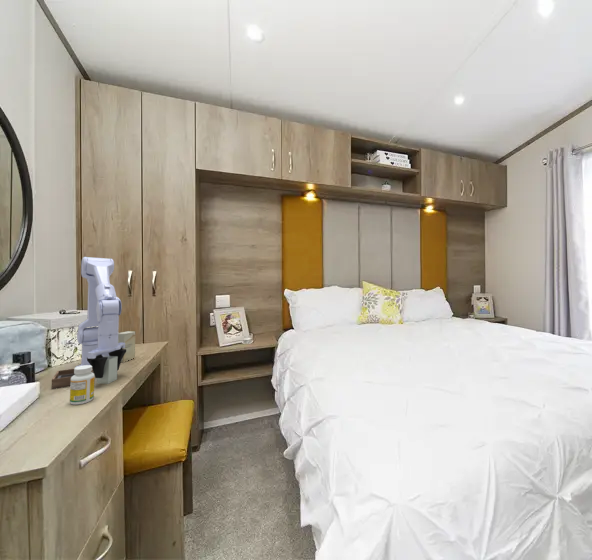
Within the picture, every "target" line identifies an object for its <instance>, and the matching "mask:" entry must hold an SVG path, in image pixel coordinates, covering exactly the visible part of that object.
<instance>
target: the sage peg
mask: <svg viewBox="0 0 592 560" xmlns="http://www.w3.org/2000/svg"><path fill="white" fill-rule="evenodd" d="M105 357H108V358H107V360H106V363H105V367H104V375H103V378H96V384H106V385H107V384H111V383H112V382H115V381H116V380H118V371H117V359H118V356H105Z"/></svg>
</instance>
